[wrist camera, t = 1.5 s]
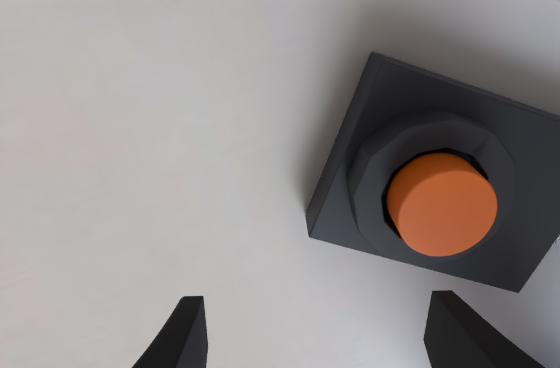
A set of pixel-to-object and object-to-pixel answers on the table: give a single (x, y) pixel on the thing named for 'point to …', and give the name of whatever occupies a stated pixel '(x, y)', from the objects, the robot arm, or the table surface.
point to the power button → (441, 204)
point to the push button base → (441, 139)
